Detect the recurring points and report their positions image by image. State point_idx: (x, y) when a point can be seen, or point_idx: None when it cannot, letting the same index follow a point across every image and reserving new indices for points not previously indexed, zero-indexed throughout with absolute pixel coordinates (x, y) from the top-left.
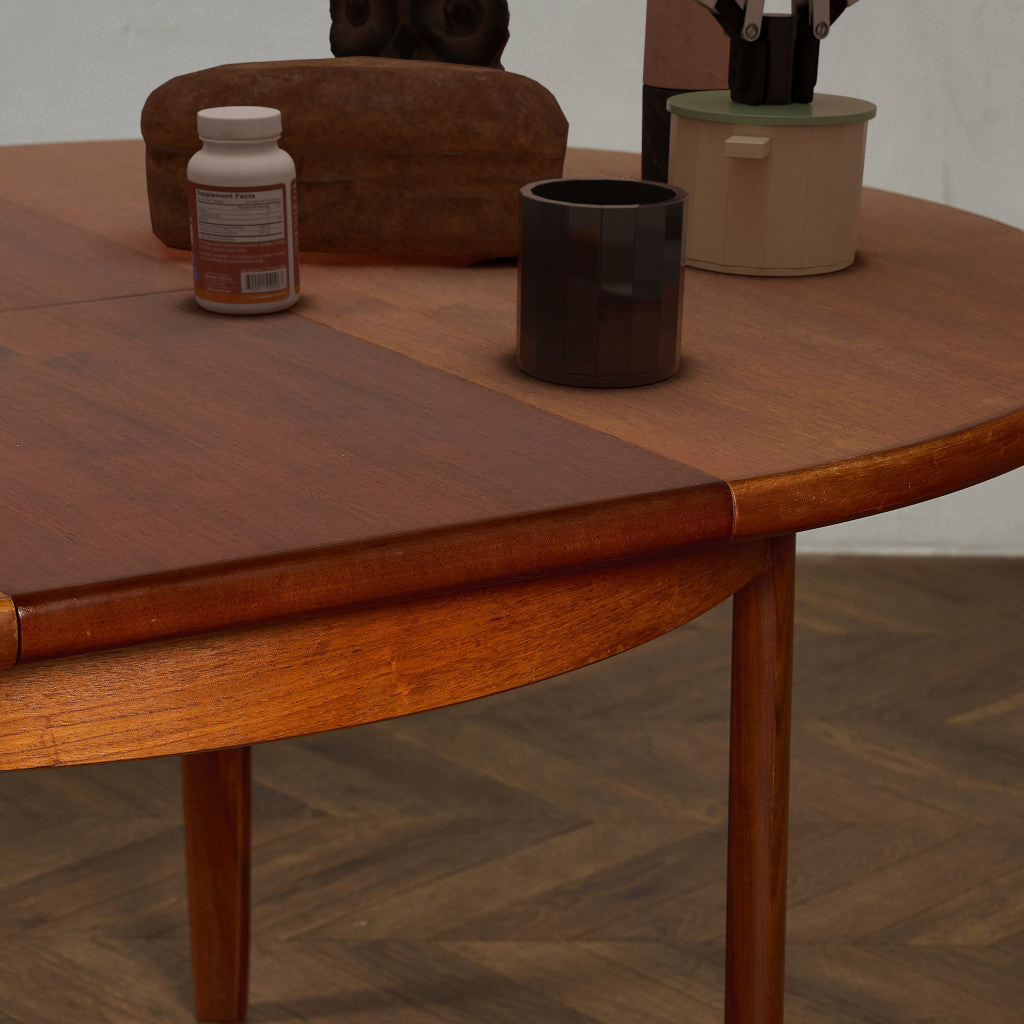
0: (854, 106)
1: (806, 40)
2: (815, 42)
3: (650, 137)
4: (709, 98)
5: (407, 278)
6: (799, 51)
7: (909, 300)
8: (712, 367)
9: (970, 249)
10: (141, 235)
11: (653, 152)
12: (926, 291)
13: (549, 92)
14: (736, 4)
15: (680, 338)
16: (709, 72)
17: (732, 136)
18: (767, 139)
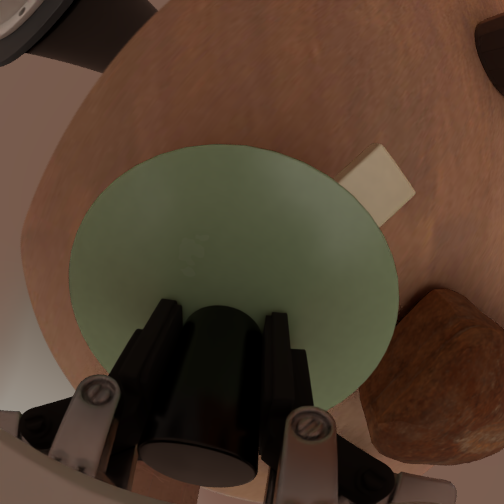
0: (110, 241)
1: (140, 389)
2: (125, 370)
3: None
4: None
5: (492, 284)
6: (157, 381)
7: (226, 43)
8: (460, 14)
9: (63, 194)
10: None
11: None
12: (188, 64)
13: (442, 414)
14: (348, 488)
15: (486, 21)
16: (158, 476)
17: (380, 223)
18: (348, 174)
